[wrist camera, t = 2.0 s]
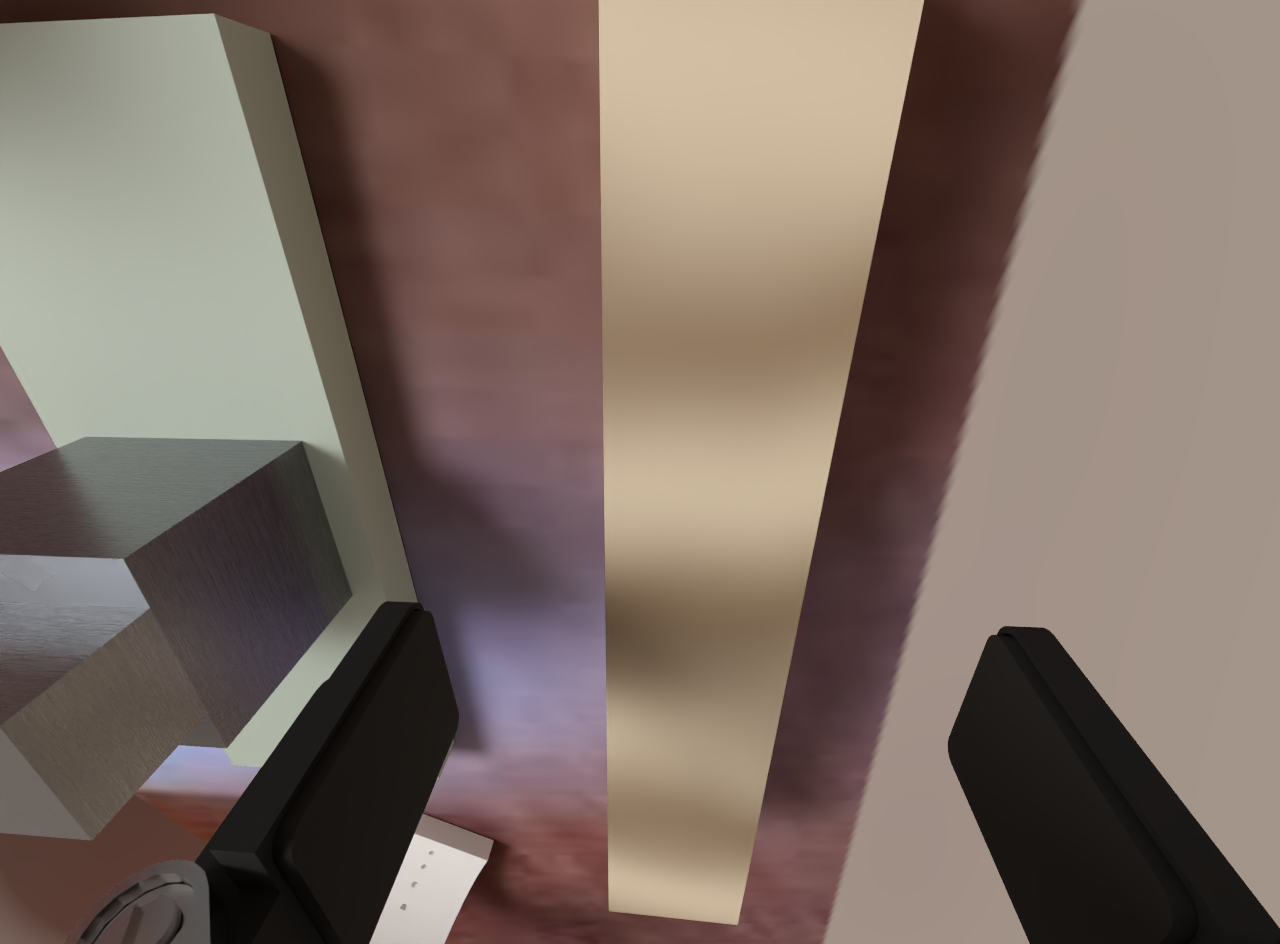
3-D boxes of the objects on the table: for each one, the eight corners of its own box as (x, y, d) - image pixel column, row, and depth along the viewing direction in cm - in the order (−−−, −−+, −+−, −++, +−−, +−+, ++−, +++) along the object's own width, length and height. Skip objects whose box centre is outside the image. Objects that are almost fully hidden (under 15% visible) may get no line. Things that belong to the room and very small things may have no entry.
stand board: (454, 742, 22) (438, 779, 20) (260, 730, 22) (232, 765, 21) (269, 33, 11) (213, 13, 10) (-78, 49, 12) (-173, 32, 11)
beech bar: (728, 772, 22) (737, 925, 17) (625, 763, 22) (608, 911, 17) (849, -40, 10) (965, -205, 6) (636, -39, 11) (597, -197, 6)
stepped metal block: (352, 595, 16) (122, 876, 10) (164, 587, 17) (-178, 850, 10) (301, 440, 14) (-47, 670, 7) (85, 436, 15) (-423, 649, 8)
